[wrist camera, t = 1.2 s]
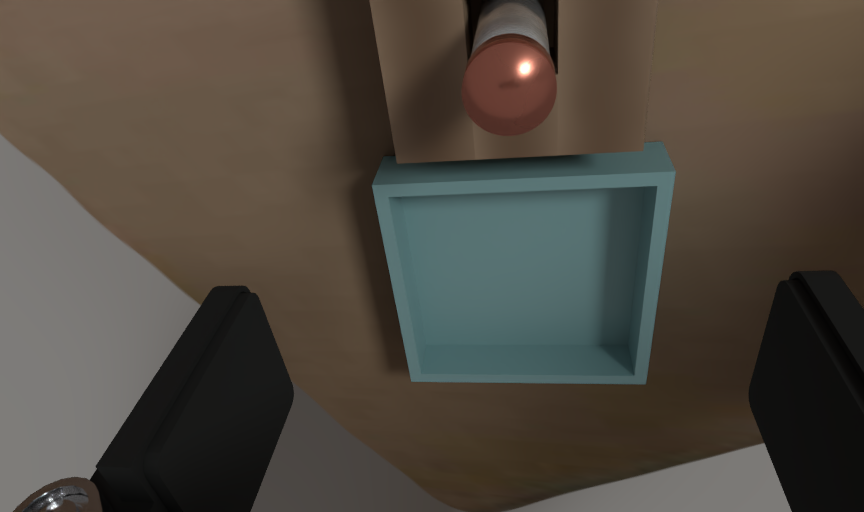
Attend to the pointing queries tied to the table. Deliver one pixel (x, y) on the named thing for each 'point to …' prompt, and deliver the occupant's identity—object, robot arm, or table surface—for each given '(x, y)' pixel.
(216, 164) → the table surface
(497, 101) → the pin
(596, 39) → the block
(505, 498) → the table surface
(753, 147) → the table surface
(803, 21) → the table surface
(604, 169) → the tray
